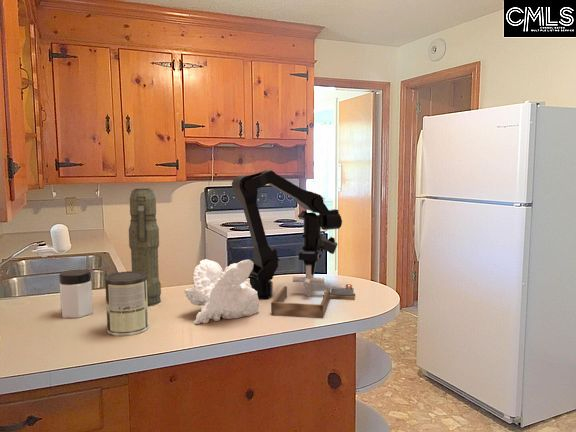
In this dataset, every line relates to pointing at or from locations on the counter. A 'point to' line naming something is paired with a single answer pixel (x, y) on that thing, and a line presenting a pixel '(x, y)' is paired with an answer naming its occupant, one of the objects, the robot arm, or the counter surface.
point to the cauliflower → (223, 291)
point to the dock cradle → (303, 305)
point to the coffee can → (126, 303)
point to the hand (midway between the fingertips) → (311, 276)
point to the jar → (76, 293)
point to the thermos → (145, 240)
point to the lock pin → (343, 291)
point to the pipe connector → (308, 280)
